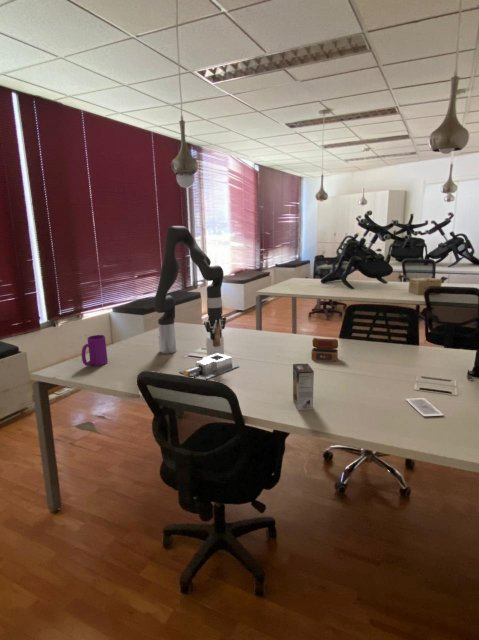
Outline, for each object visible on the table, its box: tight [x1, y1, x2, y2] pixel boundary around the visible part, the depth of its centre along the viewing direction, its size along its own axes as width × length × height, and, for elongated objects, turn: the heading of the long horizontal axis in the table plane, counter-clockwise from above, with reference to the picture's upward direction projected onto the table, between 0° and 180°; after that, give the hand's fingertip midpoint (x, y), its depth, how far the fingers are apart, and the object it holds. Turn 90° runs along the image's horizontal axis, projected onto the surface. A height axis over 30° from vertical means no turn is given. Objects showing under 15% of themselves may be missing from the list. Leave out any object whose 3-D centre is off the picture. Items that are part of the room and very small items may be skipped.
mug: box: [81, 334, 109, 367], centre depth 208 cm, size 9×16×15 cm, turn 156°
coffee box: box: [292, 363, 315, 411], centre depth 154 cm, size 9×6×16 cm
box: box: [310, 337, 339, 363], centre depth 208 cm, size 28×28×12 cm
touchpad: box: [405, 397, 445, 417], centre depth 150 cm, size 8×15×2 cm, turn 2°
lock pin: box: [182, 366, 202, 377], centre depth 191 cm, size 3×13×3 cm, turn 137°
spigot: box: [212, 323, 221, 347], centre depth 198 cm, size 4×4×12 cm
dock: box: [178, 353, 240, 380], centre depth 198 cm, size 18×25×5 cm
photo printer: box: [205, 334, 225, 357], centre depth 218 cm, size 10×4×12 cm, turn 123°
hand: (216, 338), depth 198 cm, fingers closed on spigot, 4 cm apart
